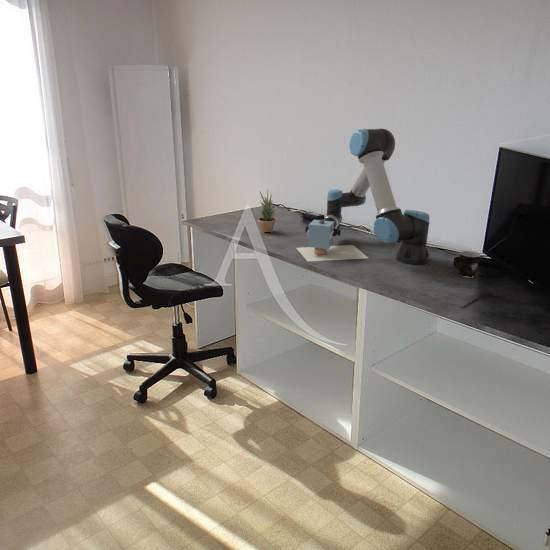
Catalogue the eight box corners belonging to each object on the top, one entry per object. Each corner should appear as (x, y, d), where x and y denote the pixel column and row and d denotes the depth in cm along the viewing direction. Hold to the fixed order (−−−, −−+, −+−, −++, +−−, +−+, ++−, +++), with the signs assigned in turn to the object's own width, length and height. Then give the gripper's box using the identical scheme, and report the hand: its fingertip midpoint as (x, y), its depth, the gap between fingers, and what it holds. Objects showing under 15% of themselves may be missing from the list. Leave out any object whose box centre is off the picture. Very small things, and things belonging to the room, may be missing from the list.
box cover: (332, 243, 253) (334, 219, 249) (328, 249, 245) (329, 224, 240) (313, 241, 256) (314, 217, 252) (307, 246, 247) (308, 222, 243)
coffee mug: (474, 273, 229) (478, 251, 225) (479, 279, 221) (483, 257, 217) (447, 271, 230) (450, 250, 226) (451, 278, 222) (454, 256, 218)
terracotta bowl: (328, 254, 249) (328, 247, 248) (316, 255, 248) (316, 248, 247) (324, 251, 255) (325, 244, 254) (312, 251, 254) (313, 244, 252)
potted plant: (255, 232, 288) (255, 187, 279) (263, 228, 296) (263, 185, 287) (271, 234, 283) (271, 189, 275) (279, 231, 291) (279, 187, 283)
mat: (368, 259, 246) (368, 258, 245) (307, 262, 240) (307, 261, 239) (352, 245, 266) (352, 245, 266) (295, 248, 260) (295, 247, 260)
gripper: (350, 233, 262) (342, 245, 243) (307, 229, 269) (295, 240, 249) (351, 219, 260) (343, 230, 240) (308, 214, 266) (296, 225, 246)
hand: (319, 235), depth 244 cm, fingers closed on box cover, 10 cm apart
